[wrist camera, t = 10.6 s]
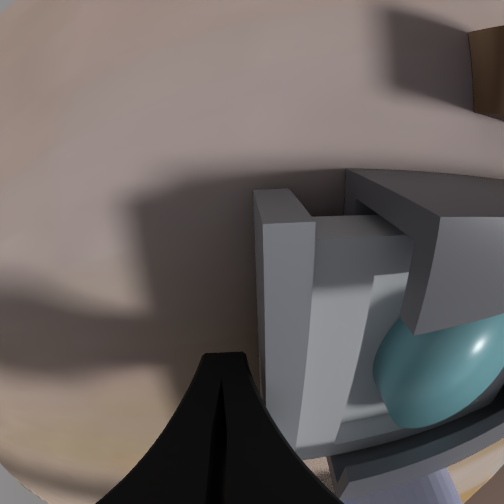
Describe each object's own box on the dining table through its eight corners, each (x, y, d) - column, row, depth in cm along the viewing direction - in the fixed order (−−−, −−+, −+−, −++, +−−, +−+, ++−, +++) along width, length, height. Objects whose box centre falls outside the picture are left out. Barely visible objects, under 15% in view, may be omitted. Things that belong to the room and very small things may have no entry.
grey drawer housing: (490, 372, 14) (526, 422, 9) (317, 420, 13) (337, 502, 9) (550, 187, 9) (619, 221, 5) (345, 168, 9) (440, 217, 4)
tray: (467, 382, 13) (491, 417, 10) (261, 427, 13) (266, 481, 10) (530, 196, 9) (578, 220, 6) (253, 189, 8) (262, 224, 6)
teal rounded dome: (350, 401, 10) (363, 437, 9) (408, 272, 8) (440, 305, 7) (452, 388, 11) (468, 414, 9) (509, 283, 9) (537, 306, 7)
